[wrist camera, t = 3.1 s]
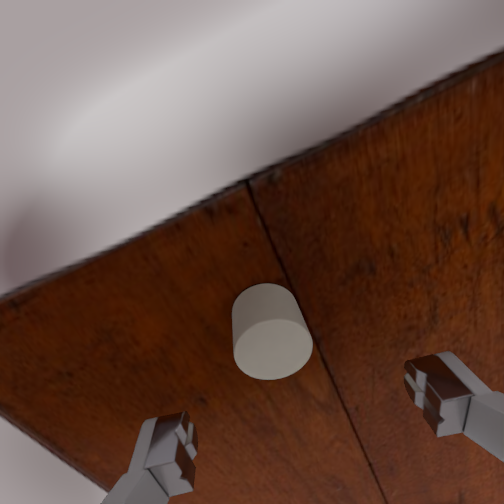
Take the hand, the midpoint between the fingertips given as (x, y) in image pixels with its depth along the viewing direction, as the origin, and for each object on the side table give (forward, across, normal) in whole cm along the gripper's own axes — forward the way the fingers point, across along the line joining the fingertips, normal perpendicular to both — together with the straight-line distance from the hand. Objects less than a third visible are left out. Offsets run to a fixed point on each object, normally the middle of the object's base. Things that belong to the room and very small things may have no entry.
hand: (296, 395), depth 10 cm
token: (+5, +1, 0) cm, 5 cm away
